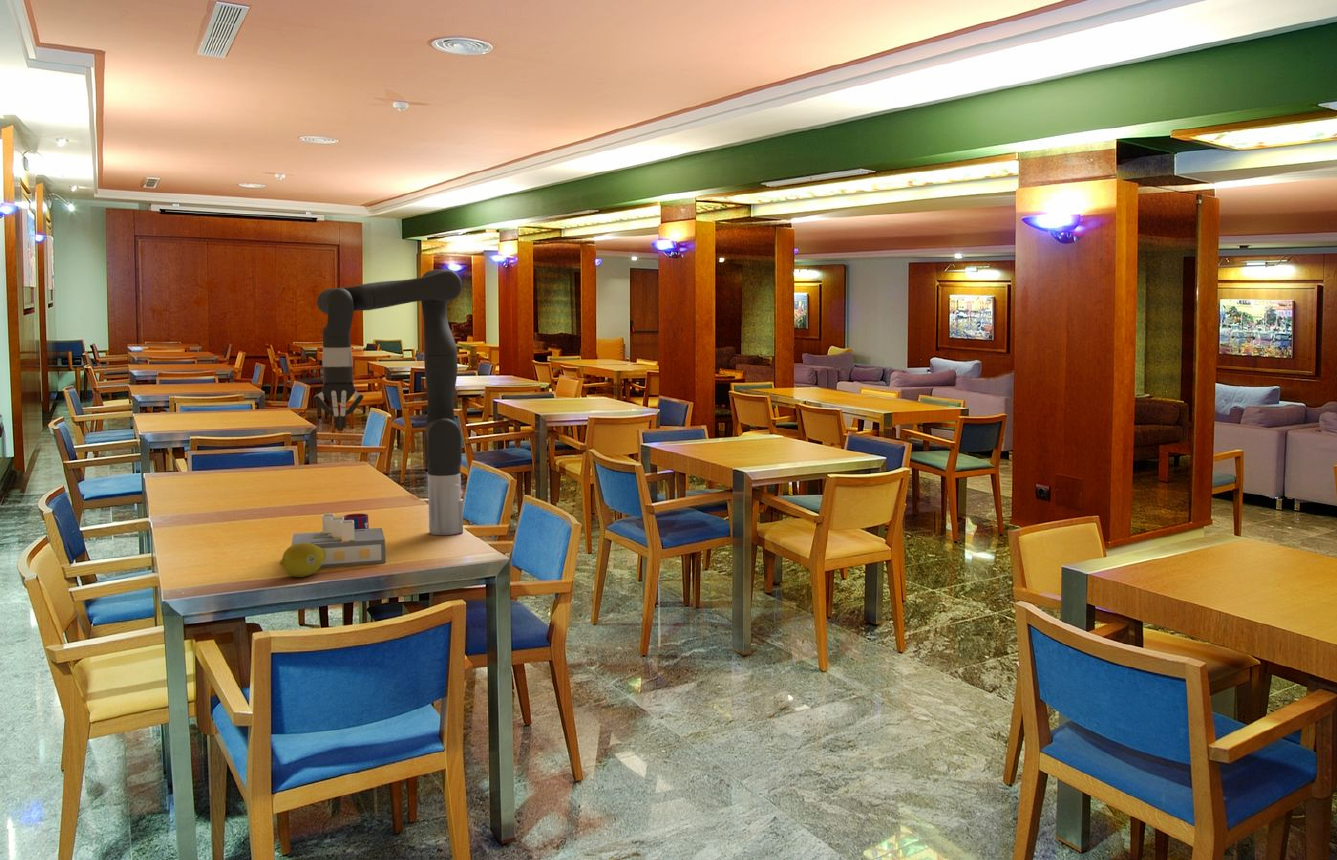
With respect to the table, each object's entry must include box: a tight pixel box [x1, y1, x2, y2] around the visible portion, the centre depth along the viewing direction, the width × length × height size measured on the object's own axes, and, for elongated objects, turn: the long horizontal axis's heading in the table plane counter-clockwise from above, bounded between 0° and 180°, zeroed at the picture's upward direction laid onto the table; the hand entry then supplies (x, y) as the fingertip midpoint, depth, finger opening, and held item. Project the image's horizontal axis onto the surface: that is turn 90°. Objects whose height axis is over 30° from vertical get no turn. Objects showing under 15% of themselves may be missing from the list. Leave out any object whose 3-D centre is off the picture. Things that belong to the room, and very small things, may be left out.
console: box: [290, 527, 387, 569], centre depth 249 cm, size 22×16×6 cm
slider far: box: [321, 512, 336, 534], centre depth 253 cm, size 3×3×5 cm
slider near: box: [341, 520, 355, 541], centre depth 244 cm, size 3×3×5 cm
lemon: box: [279, 543, 326, 578], centre depth 233 cm, size 11×8×8 cm
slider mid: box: [332, 515, 344, 537], centre depth 249 cm, size 3×3×5 cm
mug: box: [343, 513, 370, 530], centre depth 273 cm, size 7×10×7 cm
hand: (340, 430), depth 258 cm, fingers closed
